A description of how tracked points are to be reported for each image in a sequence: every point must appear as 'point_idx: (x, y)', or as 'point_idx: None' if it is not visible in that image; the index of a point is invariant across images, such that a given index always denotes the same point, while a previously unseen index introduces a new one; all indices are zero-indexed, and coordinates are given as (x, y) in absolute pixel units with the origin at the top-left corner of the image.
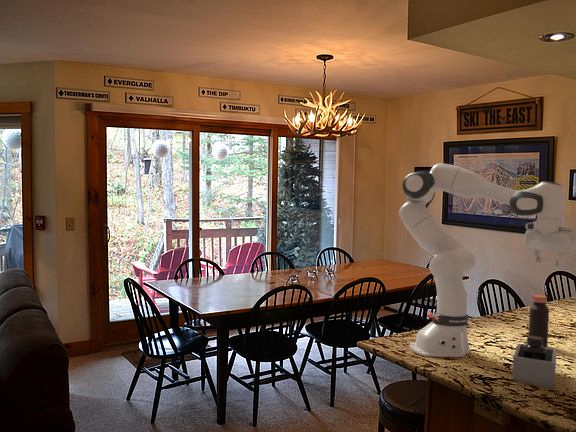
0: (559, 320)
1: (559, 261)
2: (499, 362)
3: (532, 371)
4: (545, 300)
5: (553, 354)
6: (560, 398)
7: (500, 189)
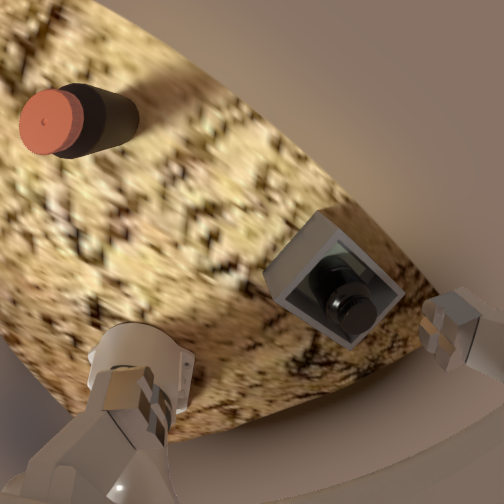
0: None
1: (479, 355)
2: (233, 299)
3: None
4: (76, 104)
5: (367, 262)
6: (410, 283)
7: None
